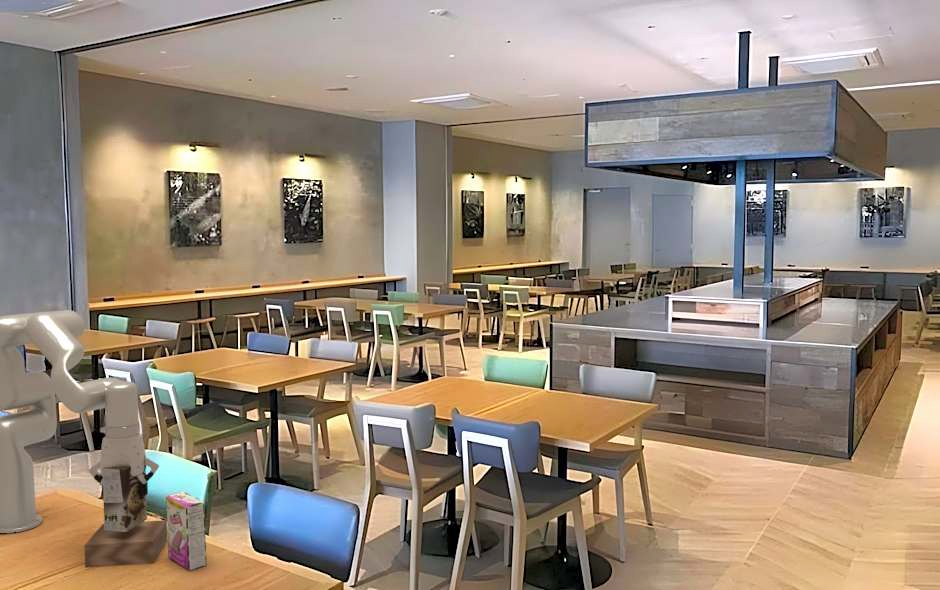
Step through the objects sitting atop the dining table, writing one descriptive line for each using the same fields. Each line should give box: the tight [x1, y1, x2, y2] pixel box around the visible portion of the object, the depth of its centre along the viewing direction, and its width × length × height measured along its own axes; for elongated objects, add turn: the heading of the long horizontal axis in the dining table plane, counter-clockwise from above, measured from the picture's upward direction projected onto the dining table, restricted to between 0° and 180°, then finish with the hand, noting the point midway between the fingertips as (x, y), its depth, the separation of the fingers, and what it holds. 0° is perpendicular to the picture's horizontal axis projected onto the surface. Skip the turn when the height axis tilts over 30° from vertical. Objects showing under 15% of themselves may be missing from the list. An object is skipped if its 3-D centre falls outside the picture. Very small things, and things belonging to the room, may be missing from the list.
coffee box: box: [102, 466, 148, 532], centre depth 196 cm, size 9×6×16 cm
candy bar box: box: [165, 491, 207, 572], centre depth 191 cm, size 11×5×16 cm, turn 47°
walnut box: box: [83, 519, 168, 568], centre depth 197 cm, size 16×14×6 cm
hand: (125, 498), depth 196 cm, fingers closed on coffee box, 7 cm apart
